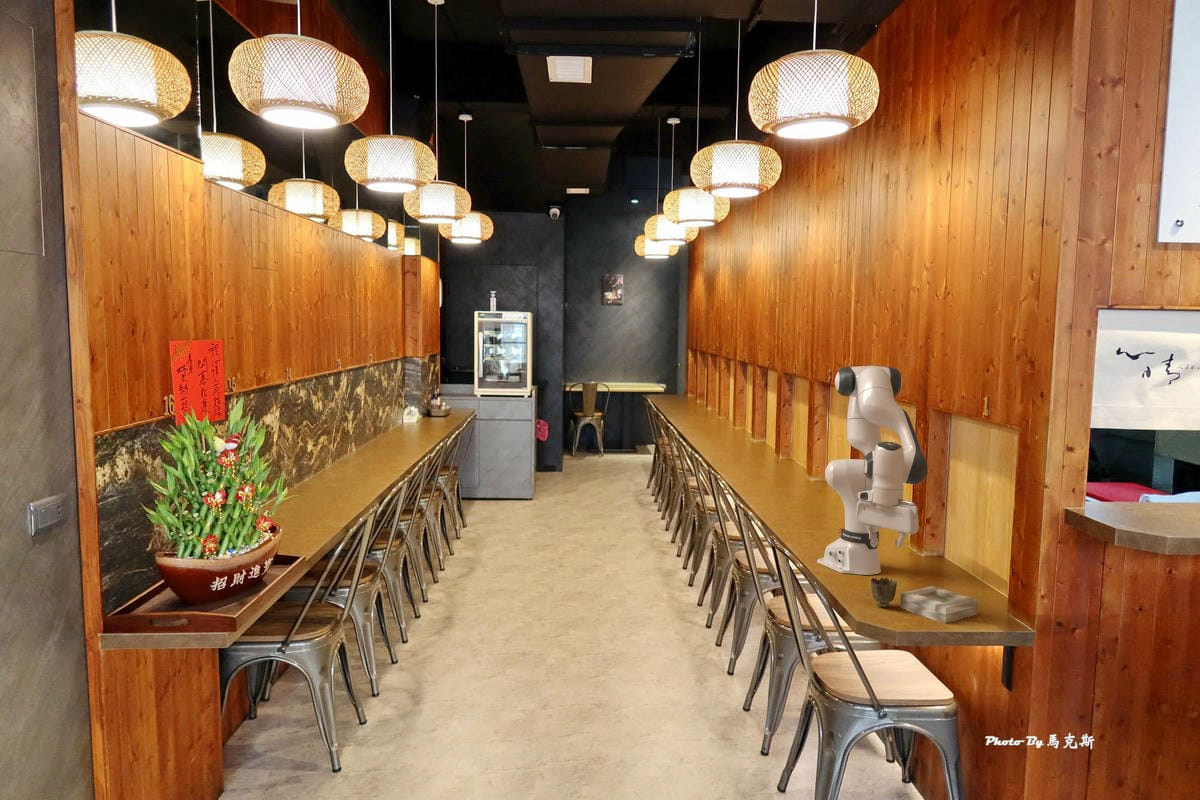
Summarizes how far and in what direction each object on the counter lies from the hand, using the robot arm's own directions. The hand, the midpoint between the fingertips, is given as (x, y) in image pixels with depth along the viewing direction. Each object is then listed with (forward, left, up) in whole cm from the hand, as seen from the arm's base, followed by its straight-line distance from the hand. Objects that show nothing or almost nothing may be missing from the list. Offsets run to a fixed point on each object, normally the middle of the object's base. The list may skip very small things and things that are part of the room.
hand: (885, 542), depth 235 cm
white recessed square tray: (+11, +11, -20) cm, 25 cm away
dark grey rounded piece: (0, 0, -20) cm, 20 cm away
